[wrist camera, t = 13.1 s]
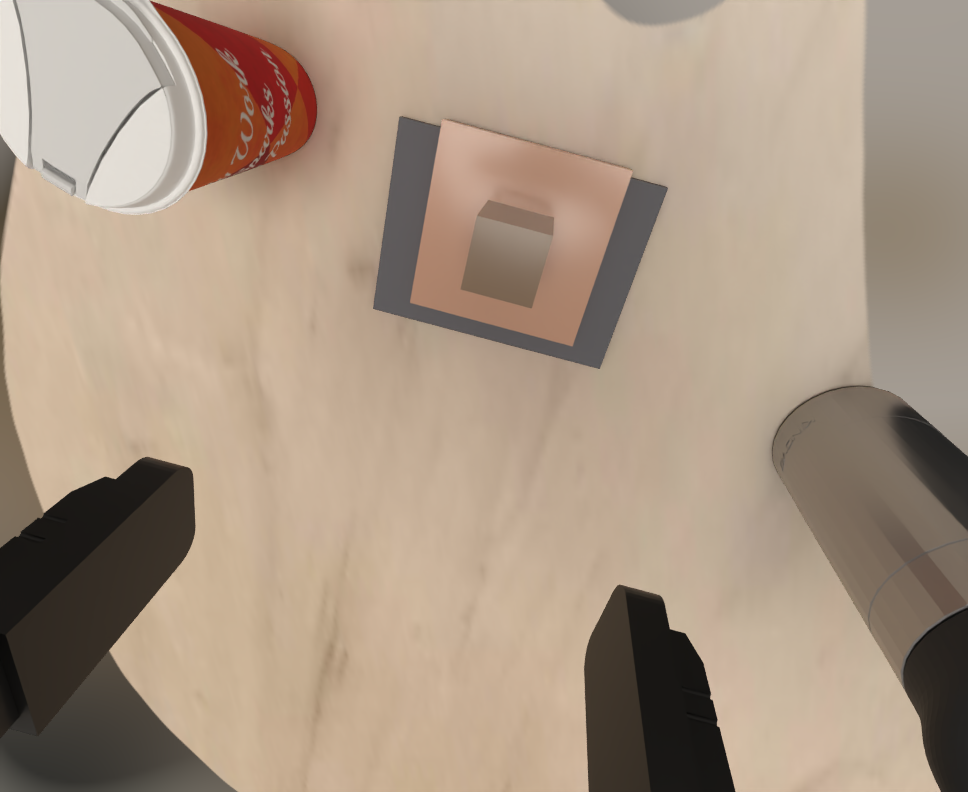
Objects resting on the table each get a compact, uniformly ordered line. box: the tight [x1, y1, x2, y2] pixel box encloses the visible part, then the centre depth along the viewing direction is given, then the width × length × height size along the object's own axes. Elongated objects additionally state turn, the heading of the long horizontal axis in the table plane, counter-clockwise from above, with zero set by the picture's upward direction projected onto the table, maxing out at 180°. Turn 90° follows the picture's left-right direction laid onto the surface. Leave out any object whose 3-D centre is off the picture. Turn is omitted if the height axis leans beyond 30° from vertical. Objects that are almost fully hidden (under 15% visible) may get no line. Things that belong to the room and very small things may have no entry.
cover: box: [410, 119, 633, 346], centre depth 31 cm, size 11×11×6 cm
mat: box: [373, 117, 668, 369], centre depth 35 cm, size 16×12×1 cm
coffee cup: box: [0, 0, 317, 215], centre depth 26 cm, size 8×8×15 cm
